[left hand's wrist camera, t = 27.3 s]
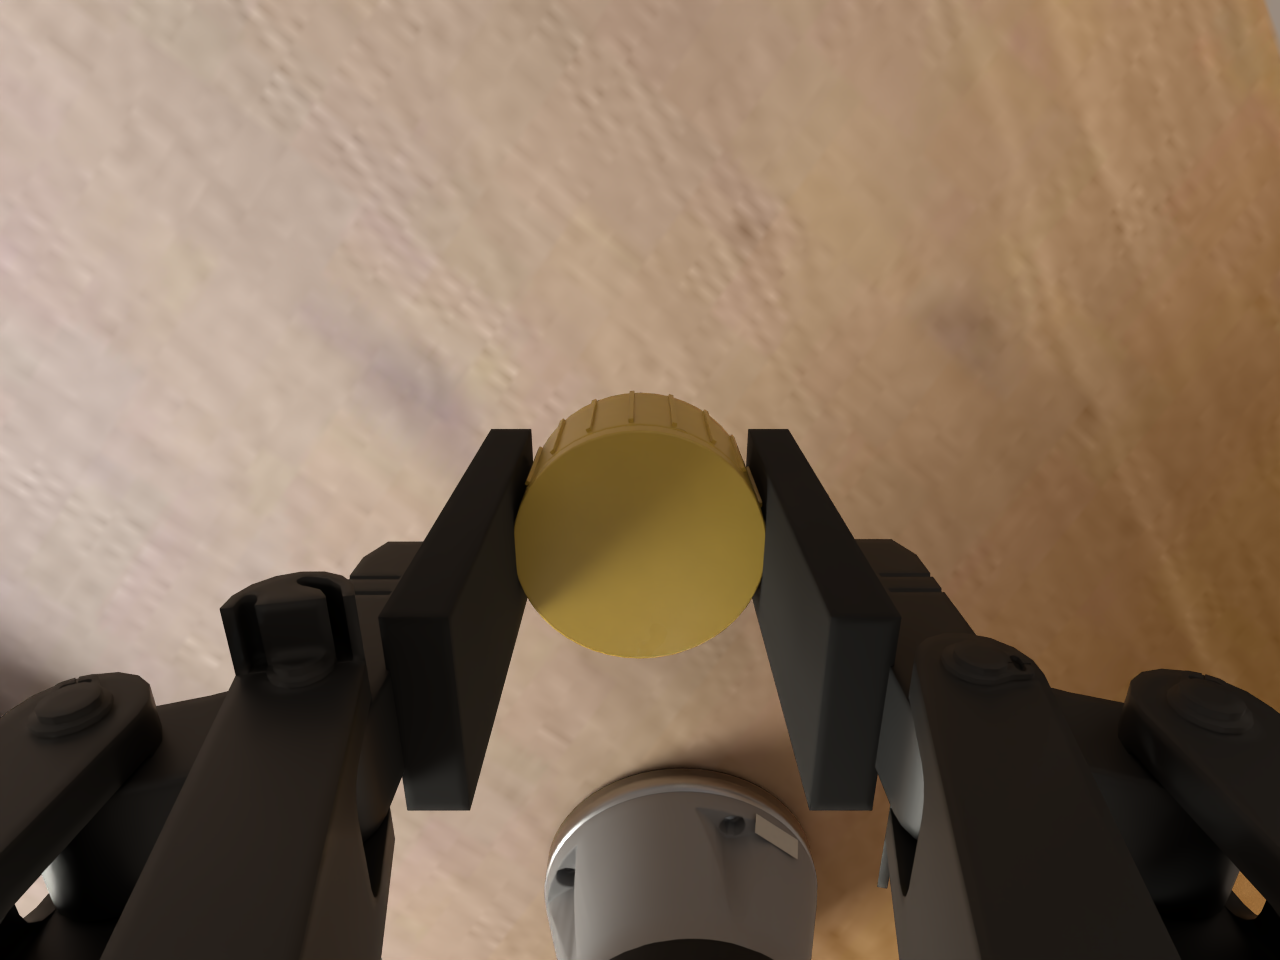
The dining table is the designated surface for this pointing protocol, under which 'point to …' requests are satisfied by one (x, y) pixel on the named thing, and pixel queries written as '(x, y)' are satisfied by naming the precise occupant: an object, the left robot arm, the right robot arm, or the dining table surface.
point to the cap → (639, 527)
